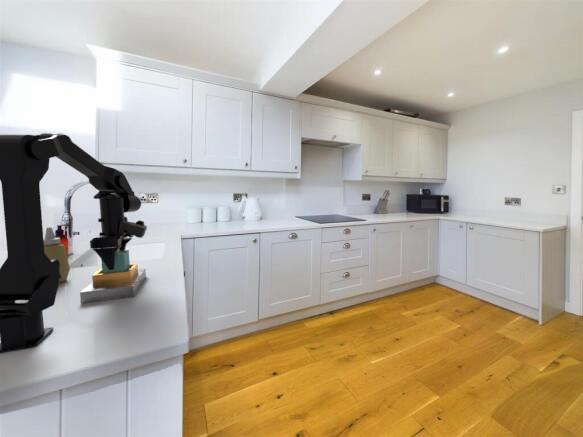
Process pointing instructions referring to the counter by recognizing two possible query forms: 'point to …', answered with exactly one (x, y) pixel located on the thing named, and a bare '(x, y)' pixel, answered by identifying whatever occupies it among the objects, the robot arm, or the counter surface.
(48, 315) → the counter surface
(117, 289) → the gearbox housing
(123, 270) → the oil can
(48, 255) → the squeeze bottle
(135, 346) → the counter surface
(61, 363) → the counter surface
